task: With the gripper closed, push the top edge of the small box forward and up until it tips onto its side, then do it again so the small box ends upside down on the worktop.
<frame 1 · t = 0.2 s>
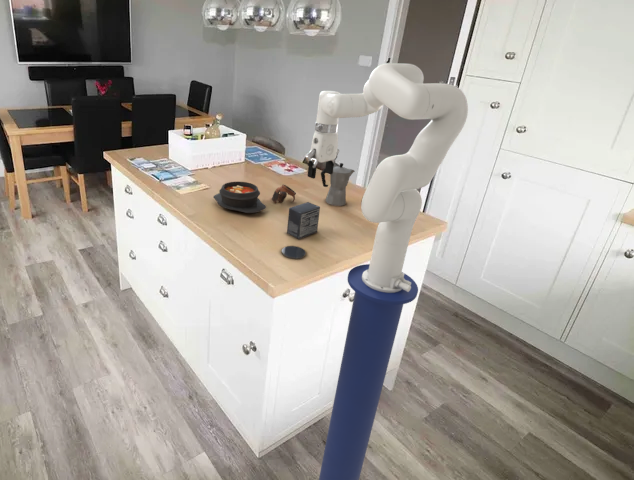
hand: (320, 175, 152), 21 cm above the counter, tool pointing down, fingers open, 9 cm apart
small box: (301, 233, 155), on the counter
slate coaster: (293, 253, 140), on the counter
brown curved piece: (282, 202, 182), on the counter
coffeepot: (333, 202, 185), on the counter
casserole: (239, 206, 176), on the counter
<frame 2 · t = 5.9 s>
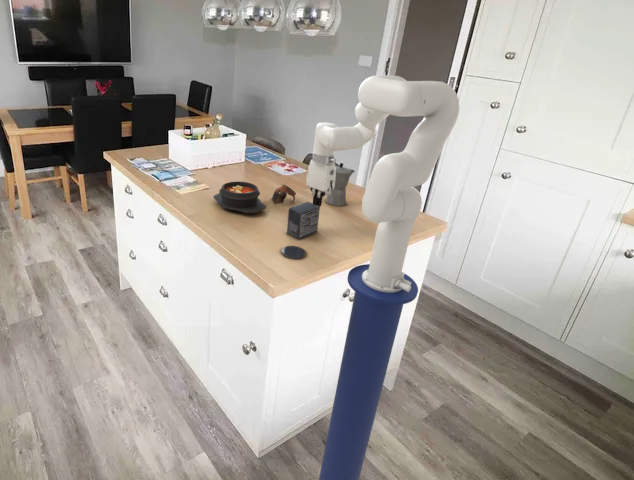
hand: (316, 206, 155), 9 cm above the counter, tool pointing down, fingers closed
small box: (301, 233, 155), on the counter, touching gripper
everything else where it was.
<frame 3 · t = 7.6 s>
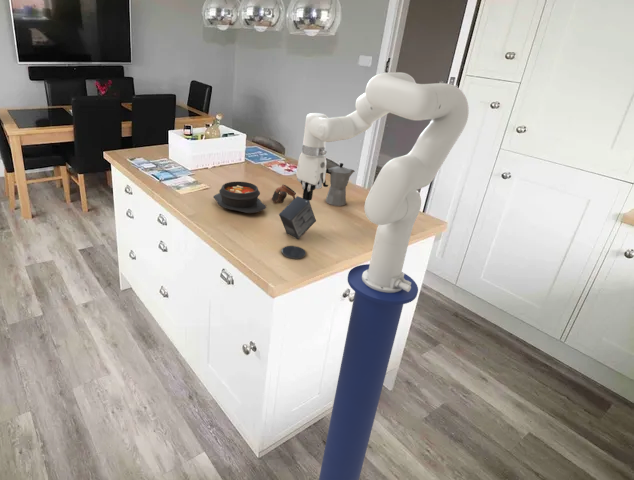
hand: (307, 200, 150), 13 cm above the counter, tool pointing down, fingers closed
small box: (301, 227, 154), point 2 cm above the counter, touching gripper
everything else where it was.
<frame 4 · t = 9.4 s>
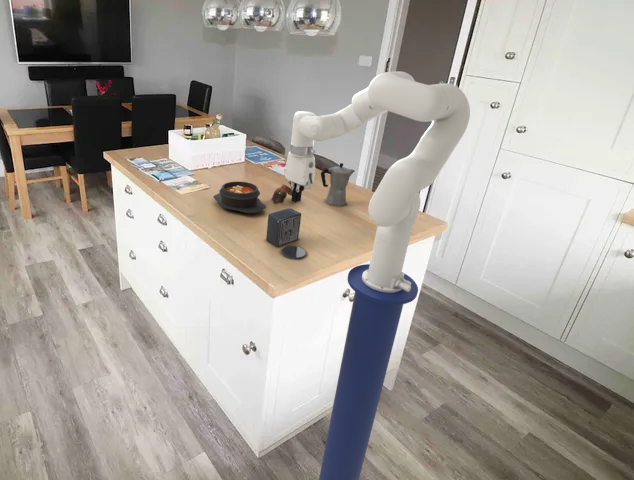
hand: (295, 201, 146), 14 cm above the counter, tool pointing down, fingers closed
small box: (294, 223, 150), point 5 cm above the counter
everything else where it was.
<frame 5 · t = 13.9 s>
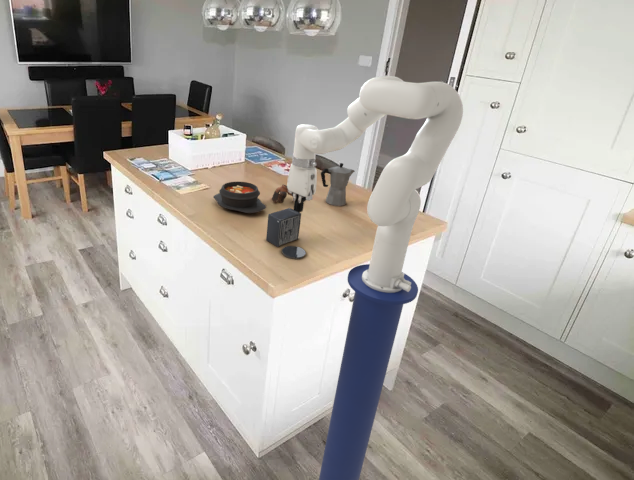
hand: (297, 211, 149), 10 cm above the counter, tool pointing down, fingers closed
small box: (294, 223, 150), point 5 cm above the counter, touching gripper
everything else where it was.
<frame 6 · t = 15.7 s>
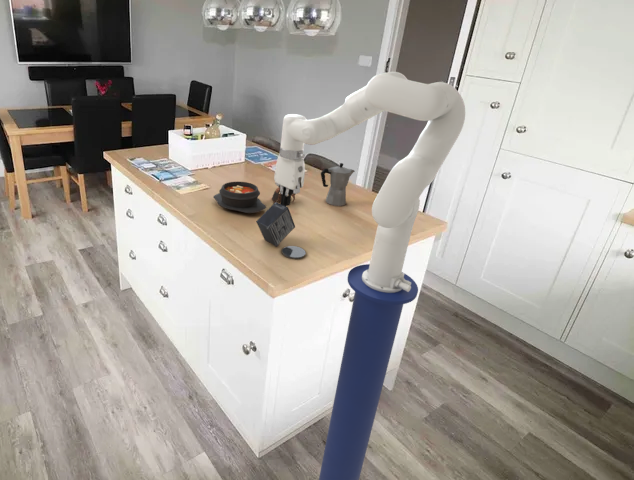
hand: (285, 205, 144), 13 cm above the counter, tool pointing down, fingers closed
small box: (285, 213, 146), point 10 cm above the counter, touching gripper
everything else where it was.
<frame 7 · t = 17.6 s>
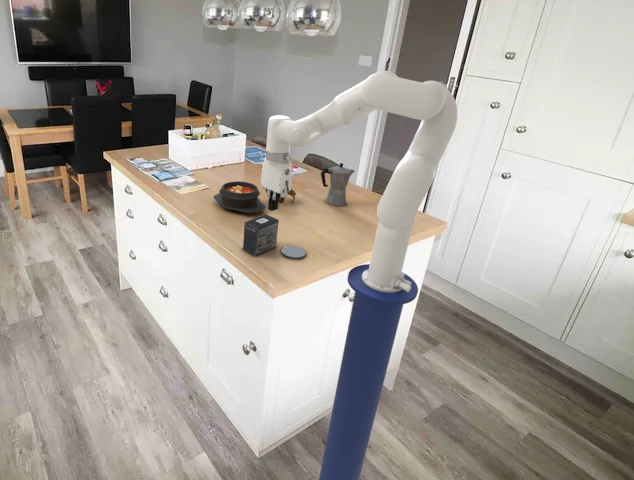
hand: (272, 209, 139), 13 cm above the counter, tool pointing down, fingers closed
small box: (261, 220, 138), point 11 cm above the counter
everything else where it was.
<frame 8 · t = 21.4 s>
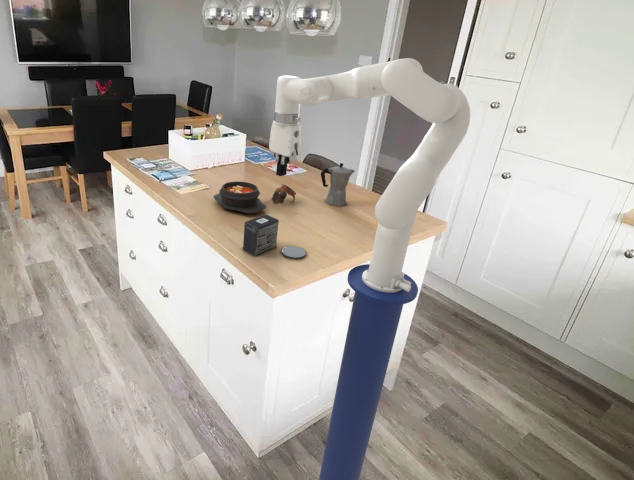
hand: (281, 174, 136), 25 cm above the counter, tool pointing down, fingers closed
nothing on the counter moved.
at the end: small box tilted 180°; small box point 10.7 cm above the counter; small box inside the target area (0.2 cm from its centre), point 10.7 cm above the counter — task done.
